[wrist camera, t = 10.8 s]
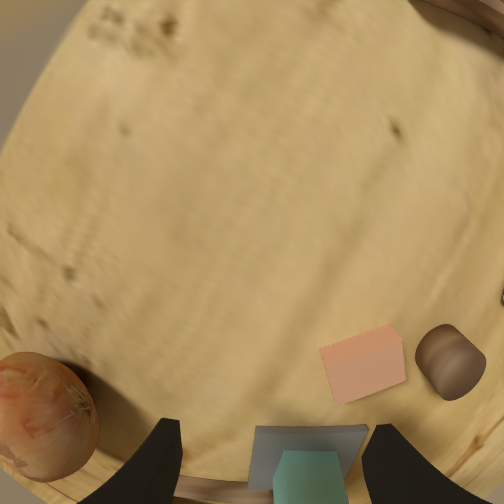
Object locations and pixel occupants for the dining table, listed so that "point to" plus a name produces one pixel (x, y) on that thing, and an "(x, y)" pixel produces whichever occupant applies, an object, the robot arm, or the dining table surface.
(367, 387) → the terracotta box
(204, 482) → the brown wooden frame
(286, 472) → the teal block
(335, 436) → the slate coaster
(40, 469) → the onion
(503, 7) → the block pen rim
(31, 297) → the dining table surface
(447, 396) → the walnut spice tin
